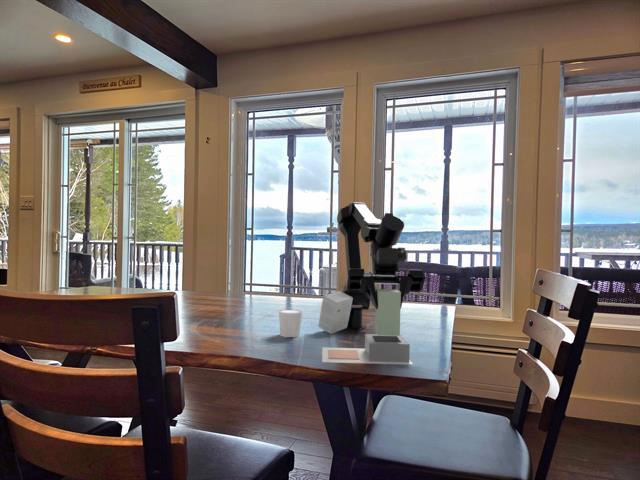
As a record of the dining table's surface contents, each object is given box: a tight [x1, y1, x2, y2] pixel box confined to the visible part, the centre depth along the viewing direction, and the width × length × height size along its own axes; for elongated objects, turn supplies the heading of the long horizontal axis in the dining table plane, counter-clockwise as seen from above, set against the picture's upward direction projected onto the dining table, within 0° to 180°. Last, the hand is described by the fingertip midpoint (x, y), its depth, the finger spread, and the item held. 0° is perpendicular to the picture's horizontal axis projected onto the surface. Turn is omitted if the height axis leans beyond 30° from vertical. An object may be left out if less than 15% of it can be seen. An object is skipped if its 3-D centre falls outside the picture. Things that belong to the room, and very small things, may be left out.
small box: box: [317, 290, 353, 335], centre depth 120 cm, size 8×6×10 cm
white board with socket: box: [321, 333, 414, 366], centre depth 92 cm, size 12×20×5 cm, turn 89°
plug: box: [374, 288, 401, 336], centre depth 92 cm, size 5×5×10 cm
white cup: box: [278, 309, 303, 338], centre depth 115 cm, size 7×7×7 cm
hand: (388, 308), depth 91 cm, fingers closed on plug, 5 cm apart
